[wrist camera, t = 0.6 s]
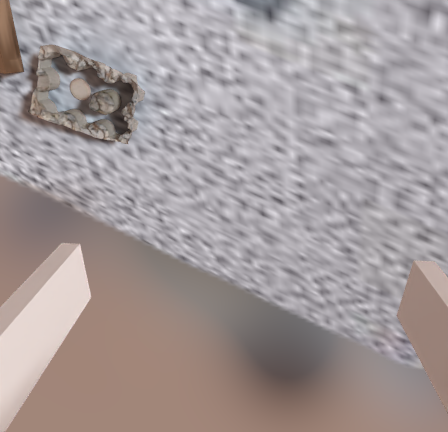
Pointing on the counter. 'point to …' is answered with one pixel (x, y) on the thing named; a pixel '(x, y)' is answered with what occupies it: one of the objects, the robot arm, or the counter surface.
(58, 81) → the egg carton
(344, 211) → the counter surface
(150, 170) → the counter surface
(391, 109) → the counter surface
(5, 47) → the box
